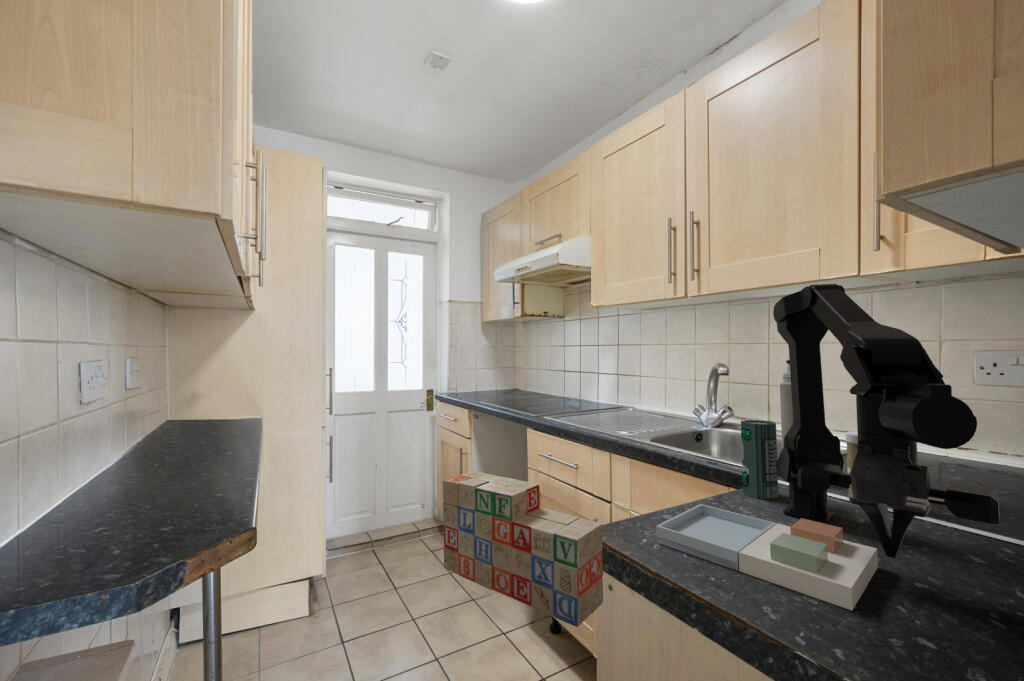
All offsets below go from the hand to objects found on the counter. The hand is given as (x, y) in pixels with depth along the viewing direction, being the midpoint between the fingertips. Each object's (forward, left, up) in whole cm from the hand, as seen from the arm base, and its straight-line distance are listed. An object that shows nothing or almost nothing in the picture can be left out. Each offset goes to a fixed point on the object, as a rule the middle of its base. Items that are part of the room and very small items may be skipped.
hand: (891, 556), depth 54 cm
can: (-25, -24, -3) cm, 35 cm away
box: (+4, -20, -3) cm, 21 cm away
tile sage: (+8, -8, -1) cm, 11 cm away
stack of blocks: (+36, -31, -4) cm, 48 cm away
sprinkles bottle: (-35, -9, -3) cm, 37 cm away
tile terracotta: (0, -8, -1) cm, 8 cm away
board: (+4, -8, -3) cm, 9 cm away
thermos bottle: (-45, -21, -3) cm, 50 cm away
